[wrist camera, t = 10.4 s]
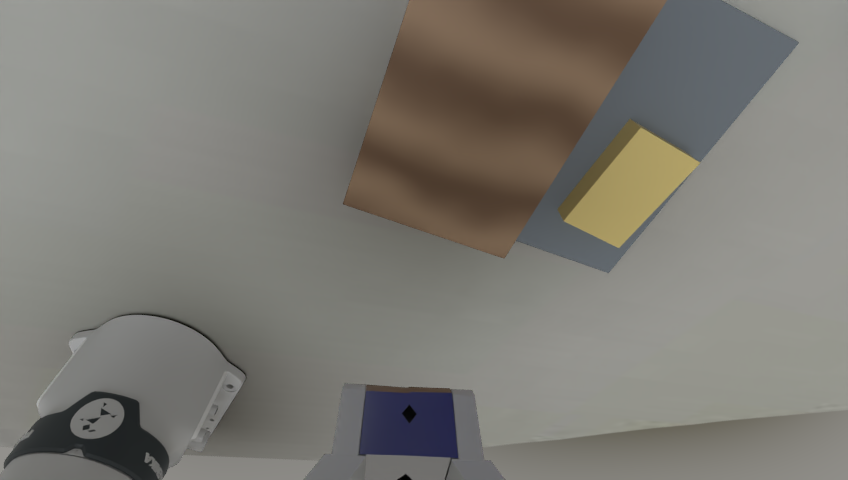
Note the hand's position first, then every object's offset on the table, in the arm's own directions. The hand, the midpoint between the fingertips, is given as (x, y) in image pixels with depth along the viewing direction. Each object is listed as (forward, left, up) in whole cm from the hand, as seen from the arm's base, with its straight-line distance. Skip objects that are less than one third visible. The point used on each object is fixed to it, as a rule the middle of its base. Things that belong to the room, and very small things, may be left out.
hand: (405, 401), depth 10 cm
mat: (+2, -17, -26) cm, 31 cm away
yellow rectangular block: (0, -18, -24) cm, 30 cm away
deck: (+2, -4, -26) cm, 26 cm away
